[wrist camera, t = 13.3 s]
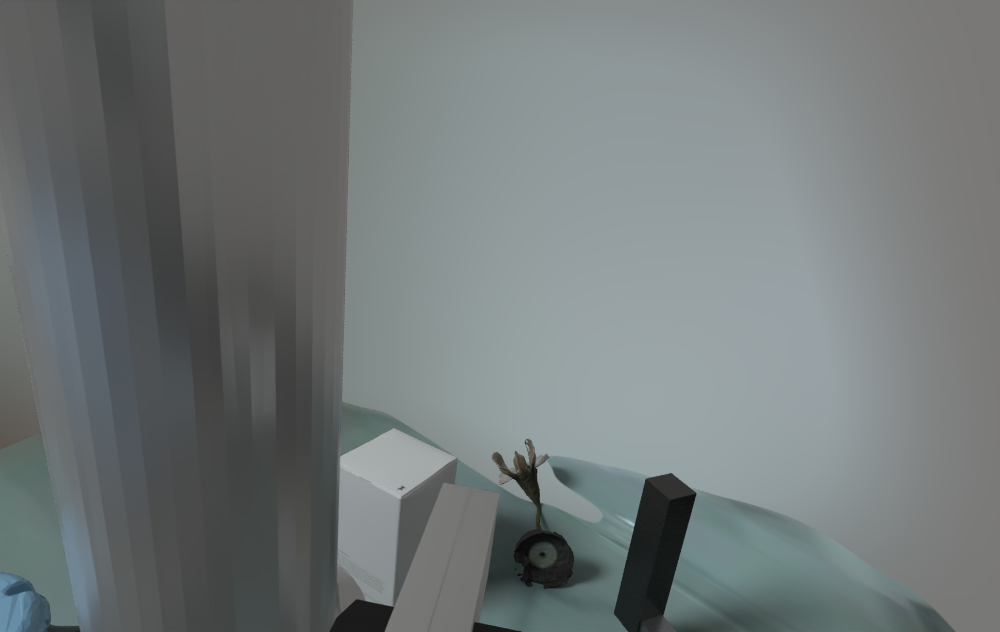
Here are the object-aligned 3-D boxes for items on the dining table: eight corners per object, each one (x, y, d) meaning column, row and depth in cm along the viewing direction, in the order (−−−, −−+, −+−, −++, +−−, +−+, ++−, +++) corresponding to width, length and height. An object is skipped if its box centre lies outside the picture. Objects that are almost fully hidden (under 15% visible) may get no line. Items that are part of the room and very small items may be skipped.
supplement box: (448, 575, 58) (461, 457, 53) (391, 631, 50) (401, 499, 46) (387, 537, 62) (395, 425, 57) (326, 584, 54) (330, 459, 50)
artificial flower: (497, 597, 57) (483, 514, 56) (502, 492, 80) (492, 431, 78) (578, 587, 57) (566, 503, 55) (560, 485, 79) (551, 422, 77)
